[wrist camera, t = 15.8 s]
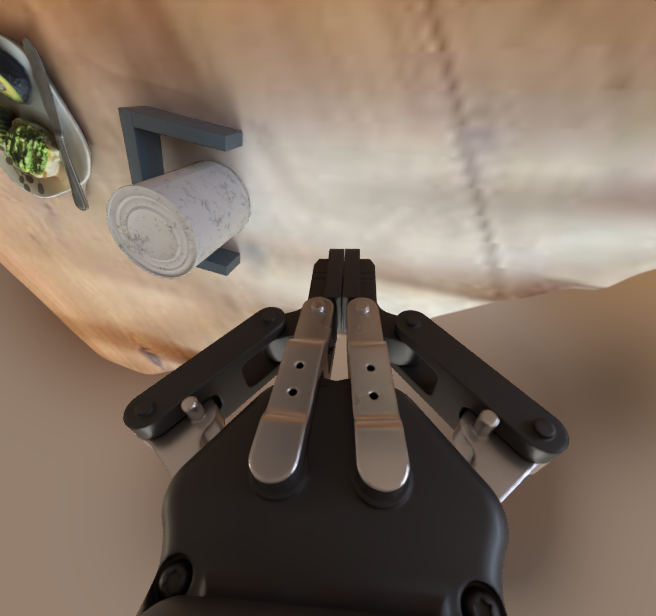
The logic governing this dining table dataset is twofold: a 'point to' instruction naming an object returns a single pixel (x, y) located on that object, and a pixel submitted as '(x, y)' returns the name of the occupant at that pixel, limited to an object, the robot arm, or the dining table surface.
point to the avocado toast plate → (38, 128)
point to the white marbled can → (178, 217)
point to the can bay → (147, 157)
